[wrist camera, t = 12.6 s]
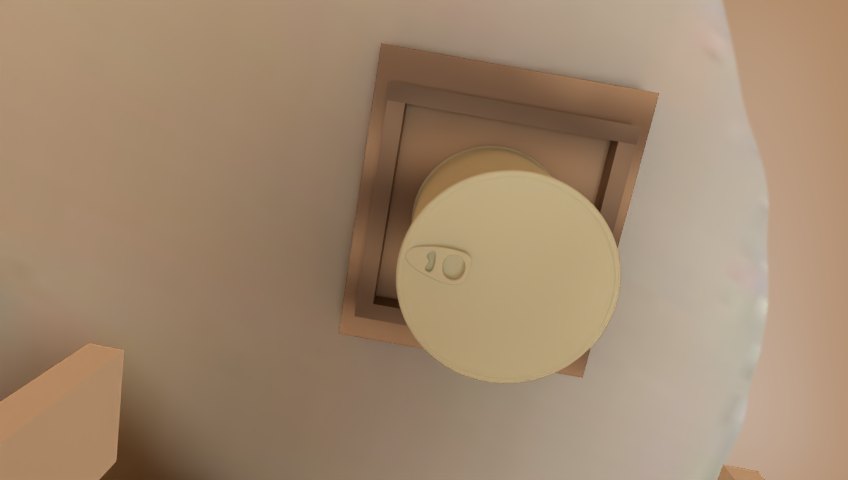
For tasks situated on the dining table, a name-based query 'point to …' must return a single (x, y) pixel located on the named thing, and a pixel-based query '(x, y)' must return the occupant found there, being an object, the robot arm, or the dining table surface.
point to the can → (505, 268)
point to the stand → (473, 127)
